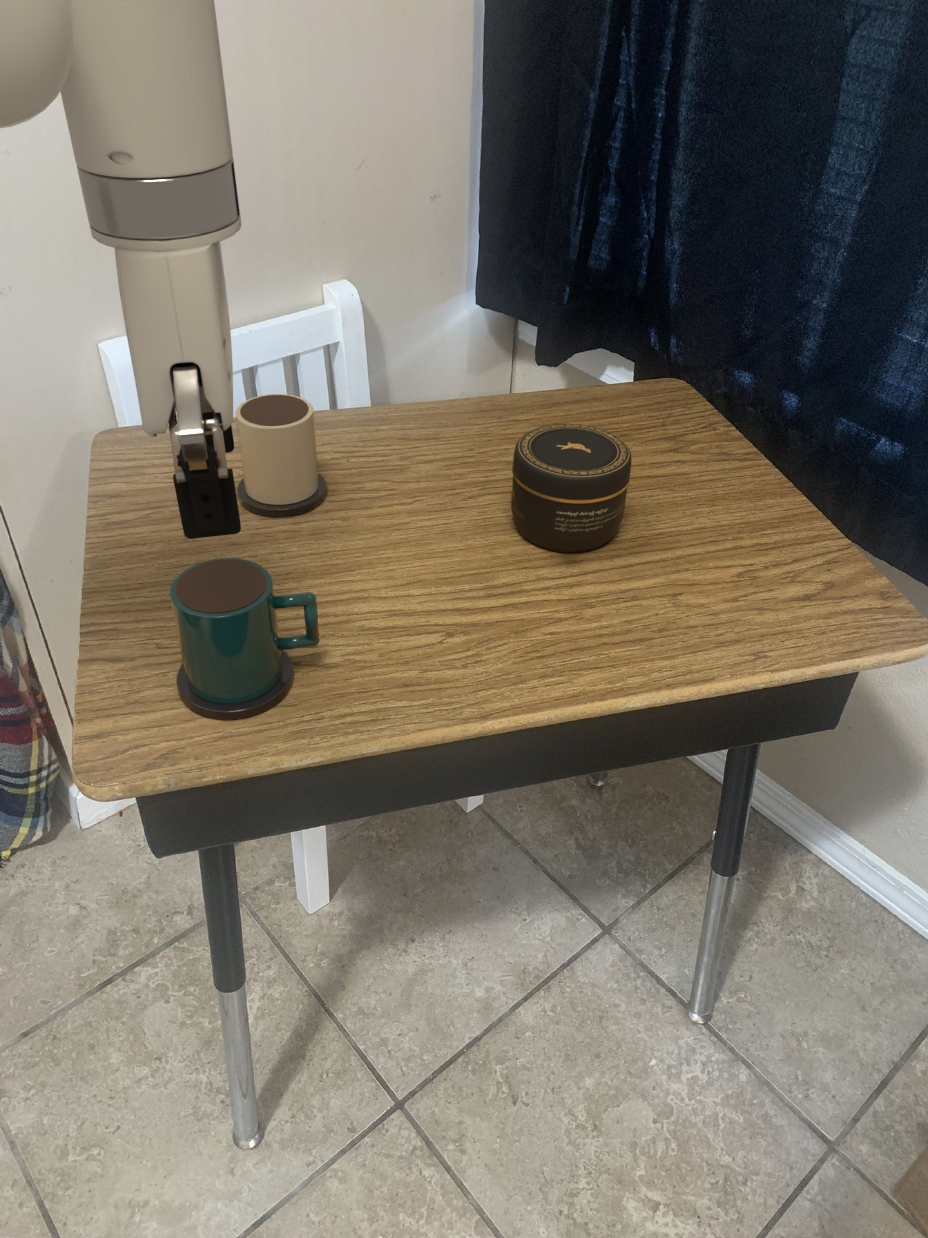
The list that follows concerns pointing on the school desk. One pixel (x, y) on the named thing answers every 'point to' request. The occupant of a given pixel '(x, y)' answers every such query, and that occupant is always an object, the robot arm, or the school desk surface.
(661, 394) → the school desk surface
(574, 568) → the school desk surface
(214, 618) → the cup front
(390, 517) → the school desk surface
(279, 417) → the cup back
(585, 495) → the jar
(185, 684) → the saucer front
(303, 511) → the dark grey round coaster
